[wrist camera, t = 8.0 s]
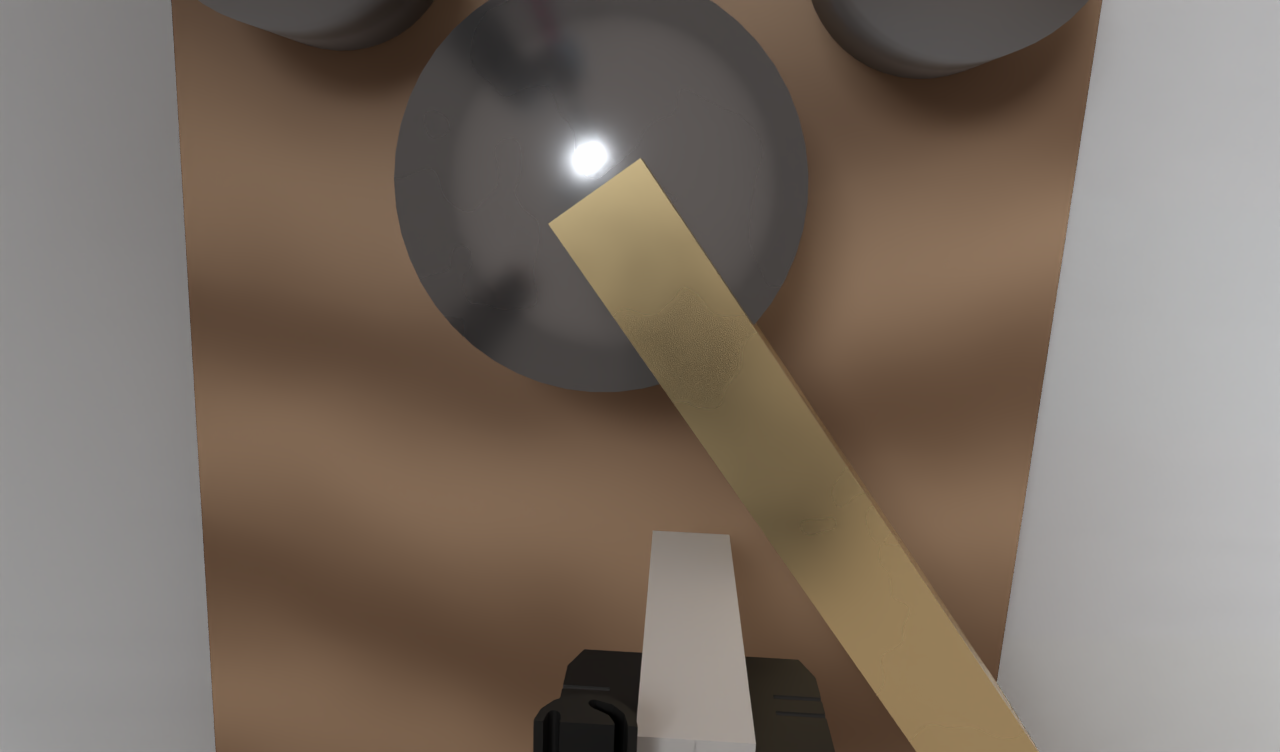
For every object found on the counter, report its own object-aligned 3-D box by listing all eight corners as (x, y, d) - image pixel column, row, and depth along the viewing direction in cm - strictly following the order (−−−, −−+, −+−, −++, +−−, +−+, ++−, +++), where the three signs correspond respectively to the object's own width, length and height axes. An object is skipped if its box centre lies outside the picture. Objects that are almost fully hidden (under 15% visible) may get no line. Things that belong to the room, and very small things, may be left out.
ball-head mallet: (385, 144, 19) (288, 134, 14) (659, -65, 18) (650, -149, 13) (807, 732, 21) (841, 883, 17) (1072, 582, 20) (1185, 702, 16)
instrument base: (209, -209, 20) (51, -337, 15) (1089, -176, 19) (1229, -298, 14) (255, 755, 25) (150, 896, 20) (945, 809, 24) (1011, 969, 19)
